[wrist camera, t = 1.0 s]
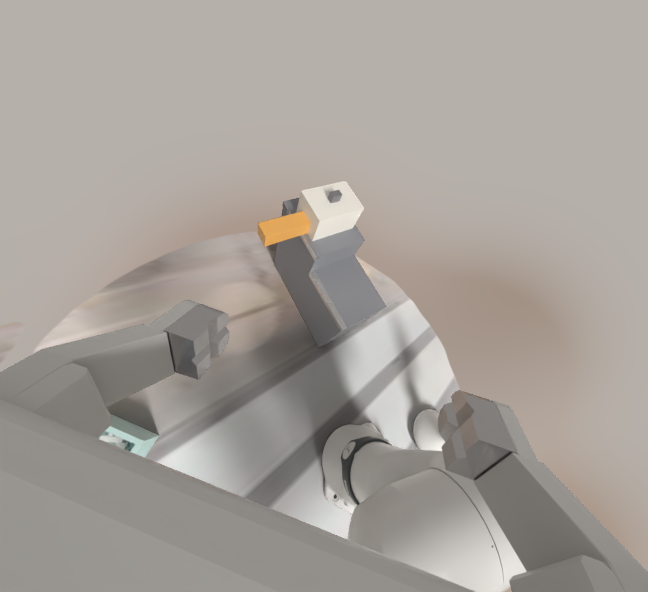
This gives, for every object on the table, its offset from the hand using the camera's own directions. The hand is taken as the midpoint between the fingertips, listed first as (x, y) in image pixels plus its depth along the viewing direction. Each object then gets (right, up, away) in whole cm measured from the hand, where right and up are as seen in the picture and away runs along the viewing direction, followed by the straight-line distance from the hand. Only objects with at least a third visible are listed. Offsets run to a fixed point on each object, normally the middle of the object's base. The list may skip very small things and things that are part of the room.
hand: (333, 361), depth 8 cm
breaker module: (-4, +16, +39) cm, 43 cm away
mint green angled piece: (-42, -29, +39) cm, 64 cm away
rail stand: (-4, +2, +63) cm, 63 cm away
